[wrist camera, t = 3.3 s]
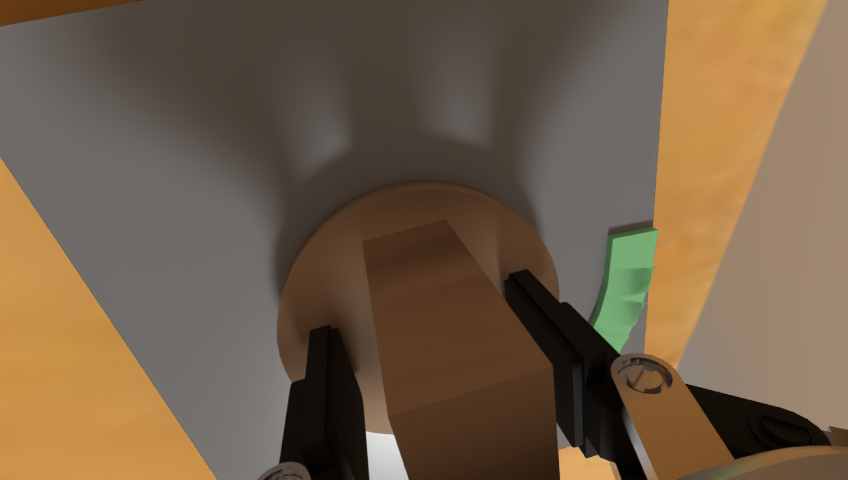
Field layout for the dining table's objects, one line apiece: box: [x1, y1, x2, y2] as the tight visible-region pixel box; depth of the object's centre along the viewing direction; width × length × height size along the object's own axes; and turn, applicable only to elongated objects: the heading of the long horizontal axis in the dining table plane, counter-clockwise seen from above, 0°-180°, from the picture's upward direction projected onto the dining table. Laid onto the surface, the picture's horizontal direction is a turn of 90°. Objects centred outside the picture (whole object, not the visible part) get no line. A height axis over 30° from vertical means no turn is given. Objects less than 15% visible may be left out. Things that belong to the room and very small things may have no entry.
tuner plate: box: [0, 0, 669, 480], centre depth 14 cm, size 20×18×2 cm
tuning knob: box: [277, 180, 560, 480], centre depth 11 cm, size 13×9×7 cm
